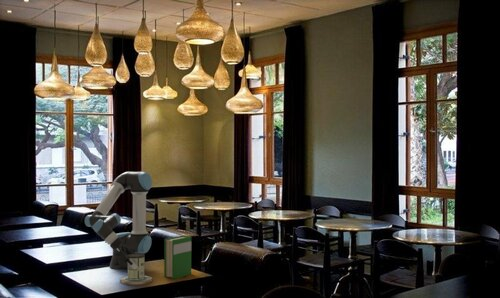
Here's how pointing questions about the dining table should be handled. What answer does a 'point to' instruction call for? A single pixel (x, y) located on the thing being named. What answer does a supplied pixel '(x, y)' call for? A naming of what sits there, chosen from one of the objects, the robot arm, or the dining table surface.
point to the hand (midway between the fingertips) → (138, 266)
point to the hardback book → (177, 256)
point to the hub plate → (135, 281)
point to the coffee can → (140, 270)
